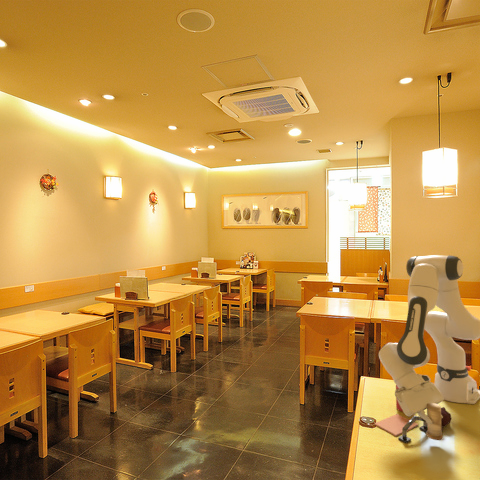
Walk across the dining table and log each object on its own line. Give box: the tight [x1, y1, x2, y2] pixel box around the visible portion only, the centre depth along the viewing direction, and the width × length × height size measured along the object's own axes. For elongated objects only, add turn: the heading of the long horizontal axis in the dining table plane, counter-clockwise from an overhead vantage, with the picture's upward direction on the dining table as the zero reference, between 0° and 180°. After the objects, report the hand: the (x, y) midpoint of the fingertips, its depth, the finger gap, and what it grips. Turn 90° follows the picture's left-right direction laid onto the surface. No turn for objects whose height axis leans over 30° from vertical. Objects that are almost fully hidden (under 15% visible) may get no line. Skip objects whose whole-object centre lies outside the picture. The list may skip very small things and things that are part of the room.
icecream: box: [441, 406, 452, 431], centre depth 136 cm, size 7×7×15 cm
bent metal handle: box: [397, 415, 428, 444], centre depth 129 cm, size 16×3×7 cm, turn 120°
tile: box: [374, 413, 420, 437], centre depth 136 cm, size 14×10×1 cm
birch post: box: [426, 403, 444, 441], centre depth 123 cm, size 5×5×11 cm
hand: (436, 421), depth 122 cm, fingers closed on birch post, 4 cm apart
